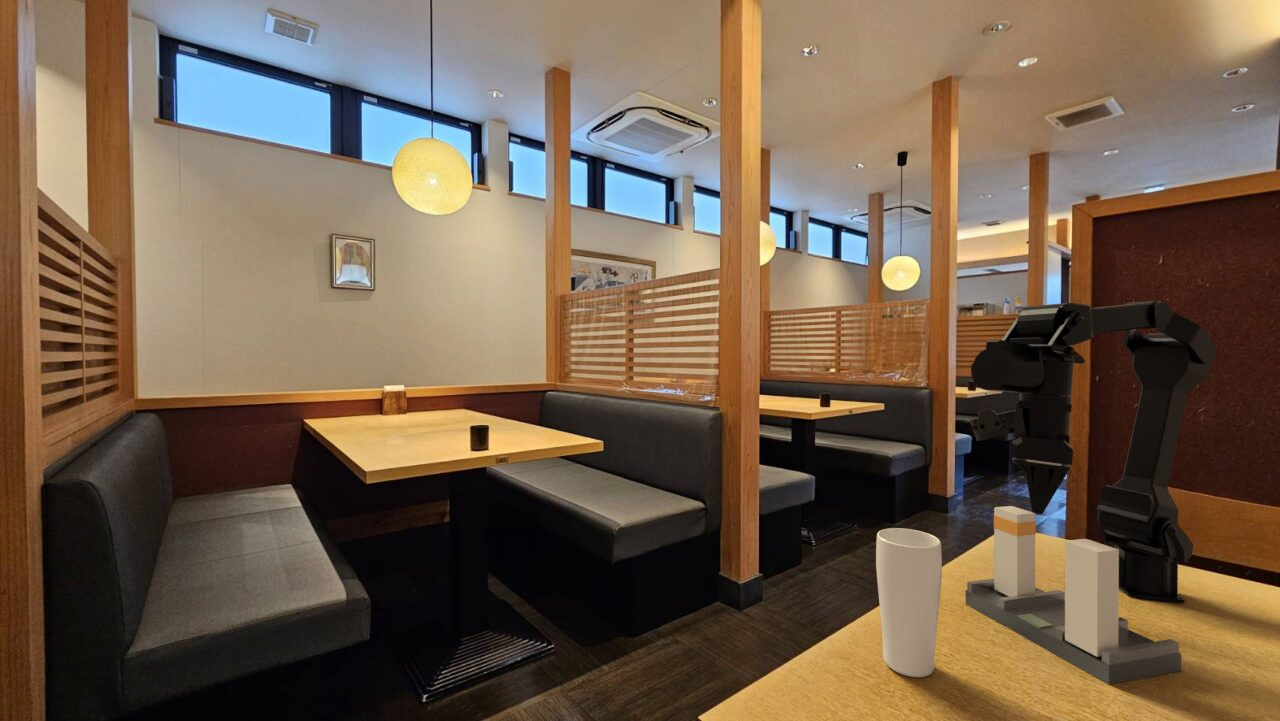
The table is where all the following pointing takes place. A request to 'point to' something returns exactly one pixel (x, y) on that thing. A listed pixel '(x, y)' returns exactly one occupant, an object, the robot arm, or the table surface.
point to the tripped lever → (1014, 551)
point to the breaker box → (1046, 627)
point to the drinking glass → (909, 598)
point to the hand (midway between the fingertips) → (1037, 507)
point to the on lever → (1091, 595)
